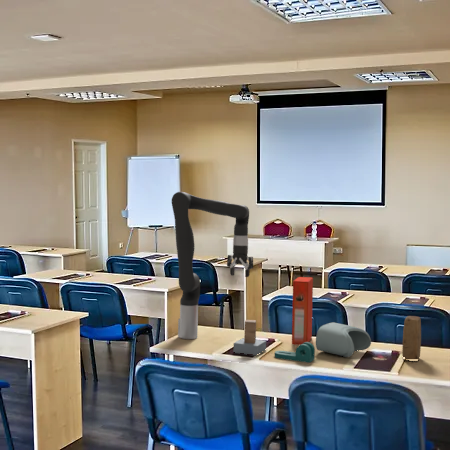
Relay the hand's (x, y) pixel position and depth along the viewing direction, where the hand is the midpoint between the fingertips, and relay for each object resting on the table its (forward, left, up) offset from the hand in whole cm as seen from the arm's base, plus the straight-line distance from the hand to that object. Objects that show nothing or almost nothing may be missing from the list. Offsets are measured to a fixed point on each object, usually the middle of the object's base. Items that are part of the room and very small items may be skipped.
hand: (239, 276), depth 329 cm
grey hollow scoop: (+53, +10, -33) cm, 63 cm away
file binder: (+26, +20, -33) cm, 47 cm away
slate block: (+16, -15, -34) cm, 40 cm away
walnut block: (+16, -15, -28) cm, 36 cm away
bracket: (+38, -14, -34) cm, 53 cm away
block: (+83, +19, -33) cm, 91 cm away
